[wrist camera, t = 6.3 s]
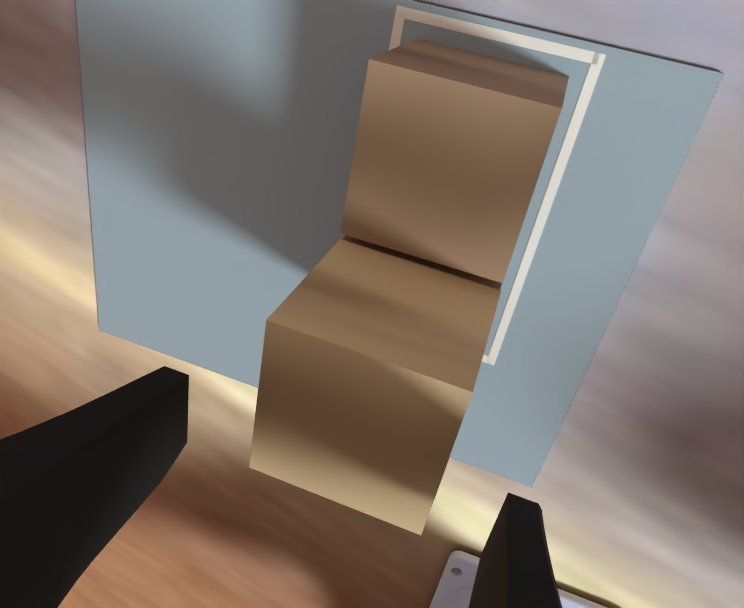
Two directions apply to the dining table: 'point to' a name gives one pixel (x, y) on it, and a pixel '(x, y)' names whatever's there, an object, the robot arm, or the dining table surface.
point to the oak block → (370, 381)
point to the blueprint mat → (331, 176)
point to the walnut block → (449, 154)
